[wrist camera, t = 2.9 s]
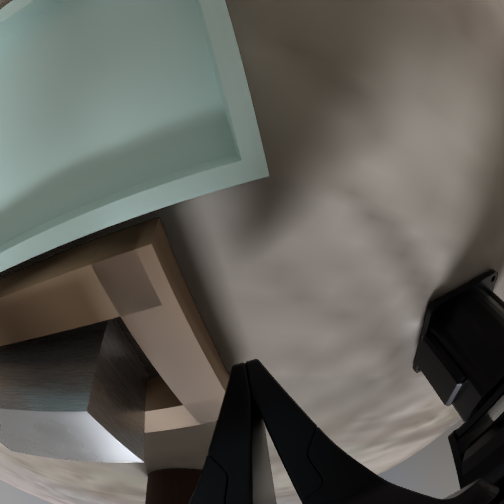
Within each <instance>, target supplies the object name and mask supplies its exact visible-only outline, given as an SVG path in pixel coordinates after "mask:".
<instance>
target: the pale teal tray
mask: <svg viewBox="0 0 504 504" xmlns="http://www.w3.org/2000/svg"><path fill="white" fill-rule="evenodd" d="M268 176H269V172H268V167H267V163H266V158H265V154H264V150H263V145H262V141H261V137H260V132H259V128H258V124H257V120H256V115H255V111H254V107H253V103H252V99H251V95H250V91H249V87H248V83H247V79H246V75H245V71H244V67H243V64H242V60H241V56H240V52H239V48H238V45H237V41H236V37H235V33H234V30H233V26H232V23H231V19H230V15H229V12H228V8H227V5H226V1H225V0H12V1H11V2H10V3H8V4H7V5H6V6H4V7H3V8H2V9H0V272H2V271H4V270H6V269H8V268H10V267H13V266H15V265H17V264H19V263H21V262H24V261H26V260H28V259H30V258H33V257H35V256H37V255H39V254H42V253H44V252H46V251H49V250H51V249H54V248H56V247H58V246H61V245H63V244H66V243H68V242H71V241H73V240H76V239H78V238H81V237H83V236H86V235H88V234H91V233H94V232H96V231H99V230H101V229H104V228H107V227H109V226H112V225H115V224H118V223H120V222H123V221H126V220H129V219H132V218H134V217H137V216H140V215H143V214H146V213H149V212H152V211H155V210H158V209H161V208H164V207H167V206H170V205H173V204H176V203H179V202H182V201H185V200H189V199H192V198H195V197H198V196H201V195H205V194H208V193H211V192H215V191H218V190H221V189H225V188H228V187H232V186H235V185H239V184H242V183H246V182H250V181H253V180H257V179H261V178H265V177H268Z"/></svg>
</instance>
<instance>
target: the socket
mask: <svg viewBox="0 0 504 504" xmlns="http://www.w3.org/2000/svg"><path fill="white" fill-rule="evenodd" d="M117 317H121V318H122V320H123V322H124V323H125V325H126V326H127V328H128V330H129V331H130V333H131V334H132V336H133V337H134V339H135V340H136V342H137V343H138V345H139V346H140V348H141V349H142V351H143V352H144V353H145V355H146V356H147V358H148V359H149V361H150V362H151V363H152V365H153V366H154V368H155V369H156V370H157V372H158V373H159V374H160V376H157V377H152V378H147V388H146V405H145V431H144V433H148V432H156V431H164V430H171V429H178V428H184V427H190V426H195V425H201V424H206V423H211V422H216V421H217V419H218V416H219V412H220V409H221V405H222V402H223V398H224V395H225V391H226V387H227V384H228V380H229V377H230V376H229V374H228V372H227V370H226V368H225V366H224V364H223V362H222V360H221V358H220V356H219V354H218V352H217V350H216V348H215V346H214V344H213V342H212V340H211V338H210V336H209V333H208V331H207V329H206V327H205V325H204V323H203V321H202V318H201V316H200V314H199V312H198V310H197V307H196V305H195V303H194V301H193V298H192V296H191V294H190V292H189V289H188V287H187V285H186V282H185V280H184V278H183V275H182V273H181V271H180V268H179V266H178V263H177V261H176V259H175V256H174V254H173V251H172V249H171V246H170V244H169V241H168V239H167V236H166V234H165V231H164V229H163V226H162V223H161V221H160V218H159V217H158V218H155V219H152V220H149V221H146V222H143V223H140V224H137V225H134V226H131V227H128V228H126V229H123V230H120V231H117V232H114V233H112V234H109V235H106V236H103V237H101V238H98V239H95V240H93V241H90V242H87V243H85V244H82V245H80V246H77V247H74V248H72V249H69V250H67V251H64V252H62V253H59V254H57V255H54V256H52V257H49V258H47V259H44V260H42V261H40V262H37V263H35V264H33V265H30V266H28V267H25V268H23V269H21V270H19V271H16V272H14V273H12V274H10V275H7V276H5V277H3V278H1V279H0V346H3V345H7V344H12V343H16V342H20V341H25V340H29V339H33V338H37V337H42V336H46V335H50V334H54V333H58V332H62V331H66V330H70V329H74V328H78V327H82V326H86V325H90V324H94V323H98V322H101V321H105V320H109V319H113V318H117Z"/></svg>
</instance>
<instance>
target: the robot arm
mask: <svg viewBox="0 0 504 504" xmlns="http://www.w3.org/2000/svg"><path fill="white" fill-rule="evenodd" d="M497 275H498V274H497V272H496V271H495V270H493V269H491V270H489V271H488V272H486V273H484V274H483V275H481V276H479V277H478V278H476V279H474V280H472V281H470V282H469V283H467V284H465V285H463V286H461V287H460V288H458V289H456V290H454V291H452V292H450V293H448V294H446V295H445V296H443V297H441V298H439V299H437V300H435V301H433V302H432V303H431V304H430V305H429V307H428V309H427V313H426V317H425V322H424V326H423V330H422V334H421V338H420V342H419V346H418V350H417V354H416V357H415V361H414V364H413V369H414V371H415V372H416V373H418V372H420V371H422V373H423V374H424V375H425V377H426V378H427V380H428V381H429V383H430V384H431V385H432V387H433V388H434V390H435V391H436V393H437V394H438V396H439V397H440V399H441V400H442V402H443V403H444V405H447V406H450V405H451V404H452V405H453V406H454V408H455V409H456V411H457V412H458V414H459V415H460V417H461V418H462V419H463V421H464V422H465V421H466V422H465V423H464V424H463V425H462V426H461V427H460V428H458V429H457V430H455V431H453V432H452V433H451V434H450V435H449V436H448V439H449V443H450V446H451V450H452V454H453V458H454V462H455V466H456V470H457V474H458V479H459V484H460V489H461V490H459V491H457V492H455V493H454V494H452V495H450V496H448V497H446V498H444V499H437V498H433V497H430V496H427V495H423V494H420V493H417V492H414V491H411V490H409V489H406V488H403V487H400V486H397V485H395V484H392V483H390V482H388V481H386V480H384V479H383V478H381V477H379V476H378V475H376V474H375V473H373V472H372V471H370V470H369V469H367V468H366V467H365V466H363V465H362V464H360V463H359V462H358V461H356V460H355V459H353V458H352V457H351V456H349V455H348V454H347V453H345V452H344V451H343V450H342V449H341V448H339V447H338V446H337V445H336V444H335V443H334V442H333V441H332V440H331V439H330V438H328V437H327V436H326V435H325V434H324V432H323V431H322V430H321V429H320V428H319V427H317V425H316V424H315V423H314V422H313V421H312V420H311V419H310V418H309V417H308V416H307V414H306V413H305V412H304V411H303V410H302V409H301V408H300V407H299V406H298V405H297V403H296V402H295V401H294V400H293V399H292V398H291V397H290V396H289V395H288V393H287V392H286V391H285V390H284V389H283V388H282V387H281V385H280V384H279V383H278V382H277V381H276V380H275V379H274V377H273V376H272V375H271V374H270V373H269V372H268V370H267V369H266V368H265V367H264V366H263V365H262V363H261V362H260V361H259V360H258V359H254V360H250V361H247V362H246V364H245V363H239V364H236V365H233V367H232V370H231V373H230V377H229V380H228V384H227V387H226V391H225V395H224V398H223V402H222V405H221V409H220V412H219V416H218V419H217V423H216V426H215V430H214V433H213V437H212V440H211V444H210V447H209V451H208V455H207V457H206V461H205V464H204V467H203V470H202V473H201V476H200V479H199V482H198V484H197V486H196V489H195V491H194V493H193V496H192V498H191V500H190V502H189V504H276V497H275V491H274V485H273V478H272V472H271V465H270V459H269V452H268V446H267V439H266V433H265V426H266V428H267V430H268V432H269V435H270V437H271V439H272V441H273V443H274V446H275V448H276V450H277V452H278V454H279V456H280V458H281V461H282V463H283V465H284V467H285V469H286V471H287V473H288V475H289V477H290V479H291V481H292V483H293V486H294V488H295V490H296V492H297V494H298V496H299V498H300V500H301V501H302V504H504V412H503V413H502V414H501V415H500V416H499V417H498V418H497V419H496V420H495V421H493V420H492V419H491V418H492V417H493V416H494V415H495V414H496V413H497V412H498V410H500V409H501V408H502V407H503V406H504V302H503V301H502V300H501V299H500V298H499V297H498V296H497V295H496V294H495V293H493V289H494V286H495V282H496V279H497ZM264 423H265V426H264Z"/></svg>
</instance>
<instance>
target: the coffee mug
mask: <svg viewBox="0 0 504 504" xmlns="http://www.w3.org/2000/svg"><path fill="white" fill-rule="evenodd" d="M201 473H202V470H195V469H163V470H157V471H153V472H151V473H150V474H149V475H148V482H147V492H146V502H145V504H189V502H190V500H191V498H192V496H193V493H194V491H195V489H196V486H197V484H198V482H199V479H200V476H201Z"/></svg>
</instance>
